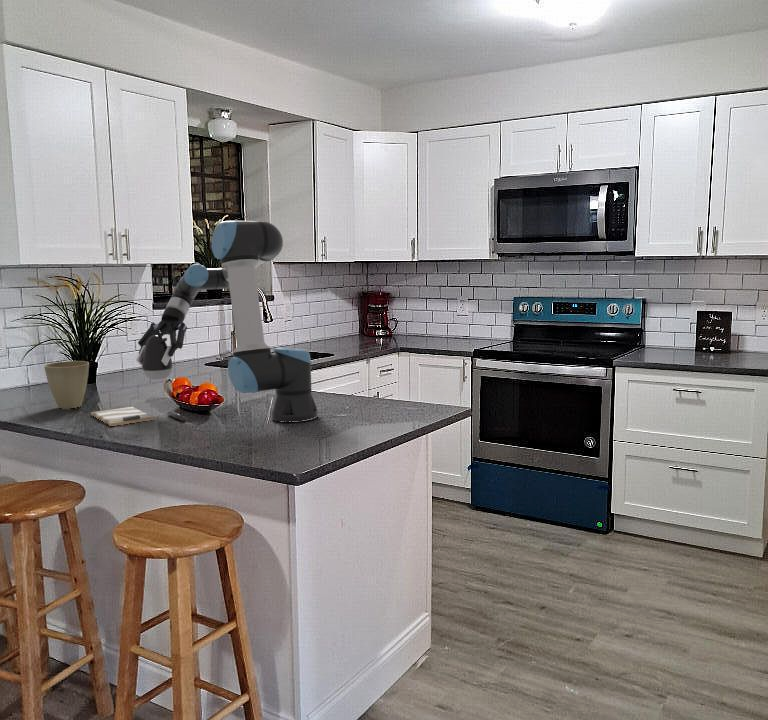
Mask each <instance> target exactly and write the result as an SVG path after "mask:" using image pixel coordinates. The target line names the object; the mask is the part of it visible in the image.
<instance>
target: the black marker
mask: <svg viewBox="0 0 768 720" xmlns="http://www.w3.org/2000/svg"><path fill="white" fill-rule="evenodd" d="M167 415H168V416H169V417H172V418H174V419H177V420H178V421H181V422H183V421H184V422H186V421H187V417H186V416H184V415H182V414H179V413H177V412H174V411H172V410H169V411H168V412H167Z"/></svg>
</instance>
